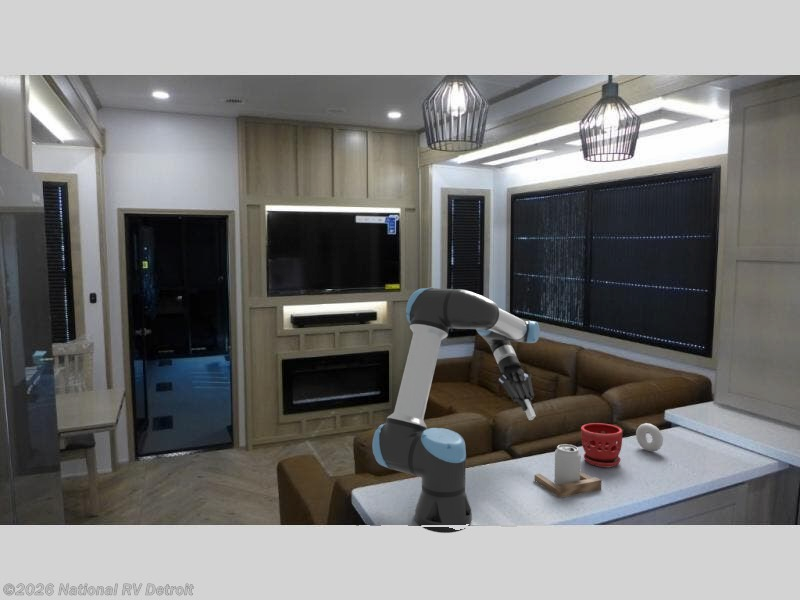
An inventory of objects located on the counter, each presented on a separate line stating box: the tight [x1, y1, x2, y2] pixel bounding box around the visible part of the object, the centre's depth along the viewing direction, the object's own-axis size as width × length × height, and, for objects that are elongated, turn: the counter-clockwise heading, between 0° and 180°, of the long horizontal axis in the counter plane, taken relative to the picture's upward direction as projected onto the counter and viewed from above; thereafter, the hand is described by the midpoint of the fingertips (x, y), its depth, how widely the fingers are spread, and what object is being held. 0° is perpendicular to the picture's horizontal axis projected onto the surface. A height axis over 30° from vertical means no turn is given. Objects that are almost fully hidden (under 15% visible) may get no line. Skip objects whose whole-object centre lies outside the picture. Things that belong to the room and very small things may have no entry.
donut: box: [635, 422, 664, 453], centre depth 188 cm, size 10×3×10 cm, turn 30°
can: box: [553, 443, 581, 485], centre depth 161 cm, size 8×8×12 cm
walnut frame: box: [533, 470, 602, 499], centre depth 162 cm, size 15×12×3 cm
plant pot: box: [580, 422, 623, 468], centre depth 179 cm, size 13×13×12 cm
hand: (532, 418), depth 179 cm, fingers closed
